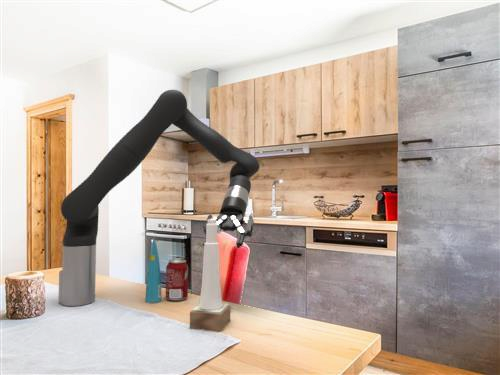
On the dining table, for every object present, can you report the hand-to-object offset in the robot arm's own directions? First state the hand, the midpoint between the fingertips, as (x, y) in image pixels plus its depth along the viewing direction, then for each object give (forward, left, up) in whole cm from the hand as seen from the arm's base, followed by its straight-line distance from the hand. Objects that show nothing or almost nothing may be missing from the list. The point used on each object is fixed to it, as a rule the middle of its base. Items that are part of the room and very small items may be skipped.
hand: (223, 245), depth 102 cm
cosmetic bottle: (0, -9, -14) cm, 17 cm away
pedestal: (0, -9, -19) cm, 21 cm away
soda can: (-18, +10, -19) cm, 28 cm away
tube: (-24, +6, -19) cm, 31 cm away
